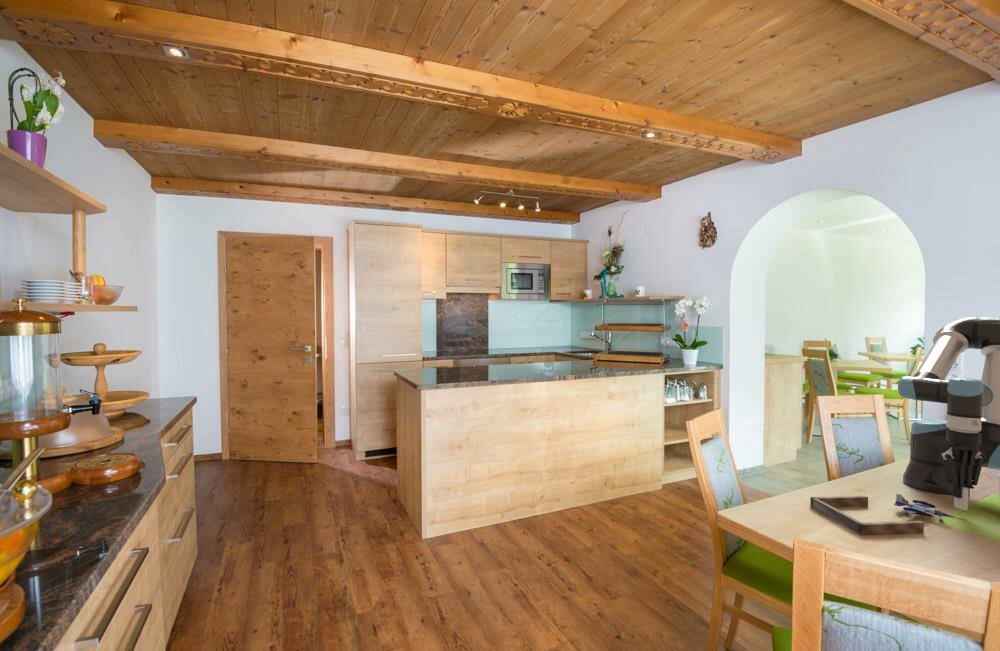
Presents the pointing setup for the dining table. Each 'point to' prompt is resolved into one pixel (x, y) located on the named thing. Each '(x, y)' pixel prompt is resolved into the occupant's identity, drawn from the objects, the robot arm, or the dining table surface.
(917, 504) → the toy airplane
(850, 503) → the frame
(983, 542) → the dining table surface
